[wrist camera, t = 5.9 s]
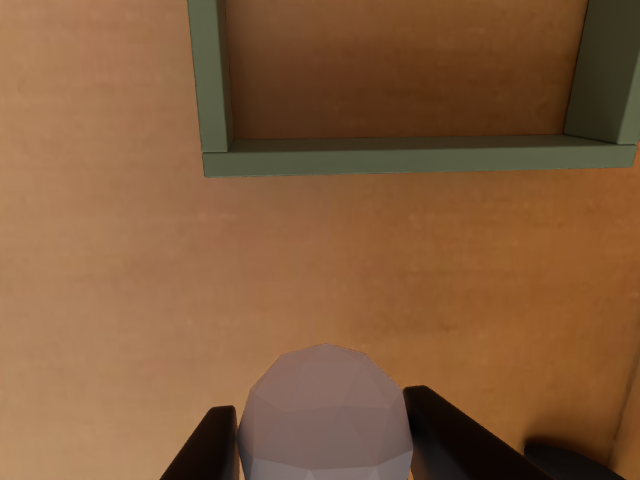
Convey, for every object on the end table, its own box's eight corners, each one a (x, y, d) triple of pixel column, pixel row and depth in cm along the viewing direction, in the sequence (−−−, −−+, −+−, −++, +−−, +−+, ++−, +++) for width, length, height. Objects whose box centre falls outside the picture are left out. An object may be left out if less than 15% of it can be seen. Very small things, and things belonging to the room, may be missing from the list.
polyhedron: (240, 314, 8) (230, 441, 5) (395, 314, 8) (464, 430, 6) (238, 435, 9) (229, 597, 6) (378, 429, 9) (428, 577, 7)
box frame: (214, 161, 16) (203, 178, 14) (190, -110, 13) (171, -159, 11) (575, 153, 18) (632, 167, 15) (626, -89, 15) (708, -127, 12)
